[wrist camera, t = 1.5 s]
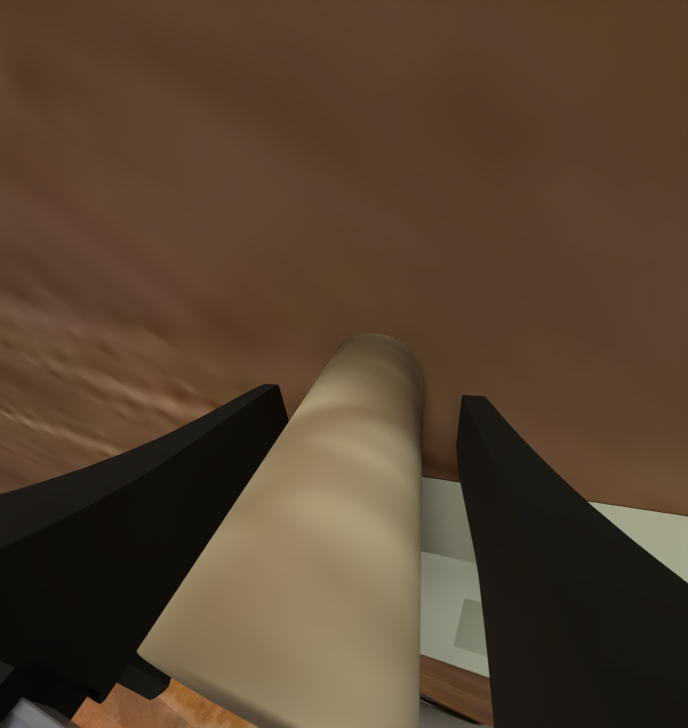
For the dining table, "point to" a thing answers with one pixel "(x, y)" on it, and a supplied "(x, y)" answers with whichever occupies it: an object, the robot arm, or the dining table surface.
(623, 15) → the dining table surface
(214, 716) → the bread
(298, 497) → the peg
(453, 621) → the socket block
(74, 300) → the dining table surface
